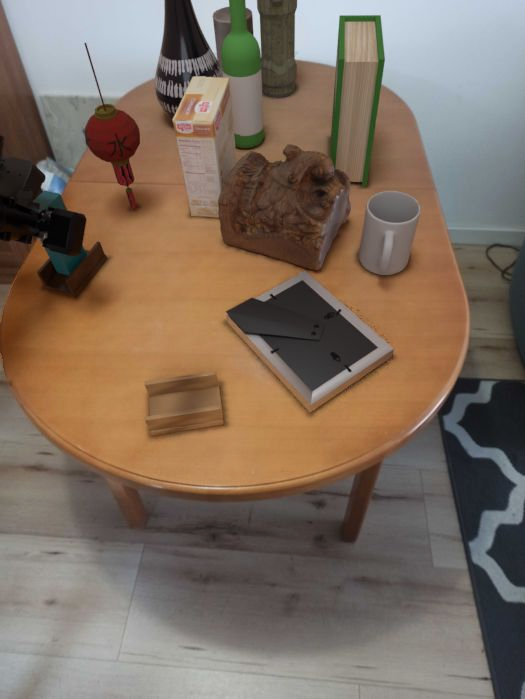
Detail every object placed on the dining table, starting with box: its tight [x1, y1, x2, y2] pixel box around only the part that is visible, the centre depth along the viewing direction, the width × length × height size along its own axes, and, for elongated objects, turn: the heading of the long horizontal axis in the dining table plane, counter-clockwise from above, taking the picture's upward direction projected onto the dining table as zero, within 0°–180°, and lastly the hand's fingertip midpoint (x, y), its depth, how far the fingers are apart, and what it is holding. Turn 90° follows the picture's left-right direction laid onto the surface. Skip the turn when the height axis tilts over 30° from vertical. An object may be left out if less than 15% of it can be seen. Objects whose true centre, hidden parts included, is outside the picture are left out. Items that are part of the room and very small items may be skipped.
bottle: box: [221, 0, 265, 149], centre depth 101 cm, size 8×8×30 cm
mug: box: [358, 190, 421, 276], centre depth 83 cm, size 12×8×11 cm
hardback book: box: [329, 14, 386, 188], centre depth 97 cm, size 18×7×24 cm, turn 174°
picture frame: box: [225, 270, 395, 414], centre depth 77 cm, size 16×3×21 cm
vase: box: [154, 0, 223, 119], centre depth 108 cm, size 16×16×30 cm
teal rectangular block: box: [33, 190, 86, 276], centre depth 82 cm, size 5×3×13 cm, turn 158°
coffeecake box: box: [171, 76, 238, 219], centre depth 94 cm, size 15×7×20 cm, turn 171°
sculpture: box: [218, 143, 352, 271], centre depth 89 cm, size 19×18×20 cm
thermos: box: [256, 0, 298, 99], centre depth 112 cm, size 9×12×35 cm
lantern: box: [84, 42, 141, 211], centre depth 88 cm, size 10×10×30 cm
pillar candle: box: [211, 6, 254, 71], centre depth 126 cm, size 10×10×15 cm
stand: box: [144, 370, 225, 436], centre depth 70 cm, size 10×7×4 cm, turn 99°
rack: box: [36, 240, 108, 298], centre depth 88 cm, size 10×7×4 cm, turn 159°
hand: (63, 229), depth 83 cm, fingers closed on teal rectangular block, 3 cm apart
